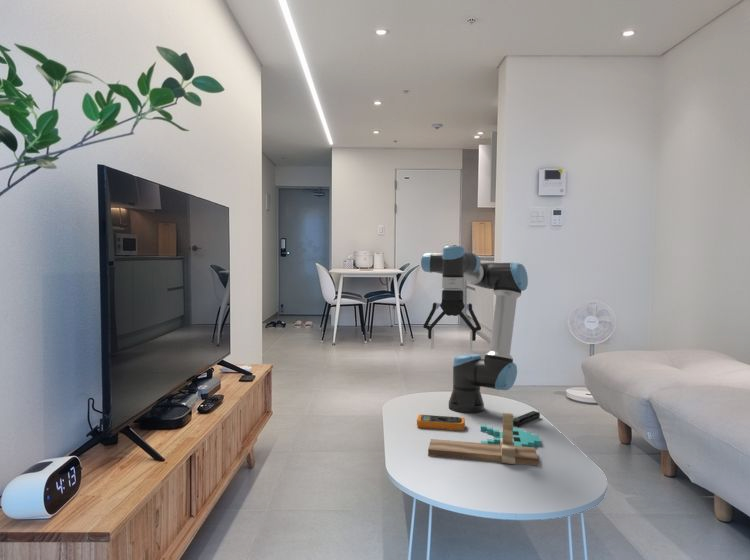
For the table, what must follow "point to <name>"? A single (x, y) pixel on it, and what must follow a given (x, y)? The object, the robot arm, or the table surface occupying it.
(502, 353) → the robot arm
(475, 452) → the walnut board
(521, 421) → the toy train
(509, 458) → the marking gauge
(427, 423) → the multimeter
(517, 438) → the alien figure
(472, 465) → the table surface
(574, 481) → the table surface
